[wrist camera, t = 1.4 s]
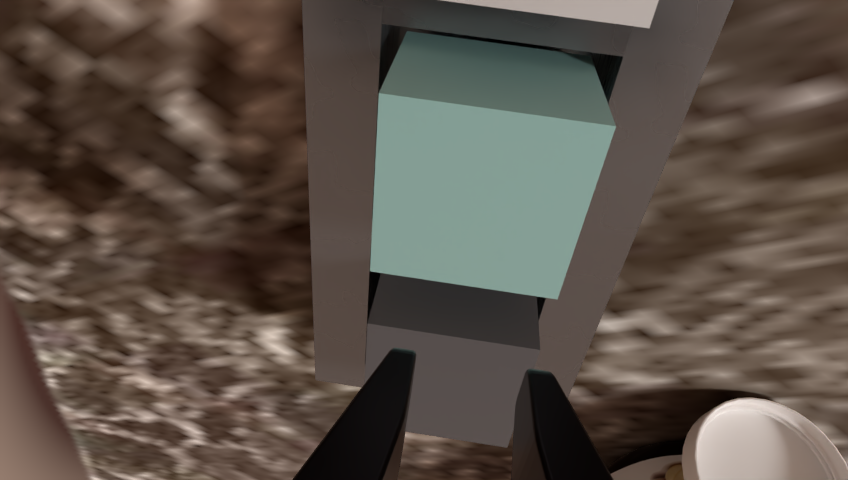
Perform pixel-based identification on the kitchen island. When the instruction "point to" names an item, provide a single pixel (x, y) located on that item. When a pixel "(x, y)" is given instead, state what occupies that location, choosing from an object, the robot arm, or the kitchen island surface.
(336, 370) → the key panel
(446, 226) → the key teal
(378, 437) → the robot arm
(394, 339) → the key black
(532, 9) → the key grey
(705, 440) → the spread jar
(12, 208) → the kitchen island surface
